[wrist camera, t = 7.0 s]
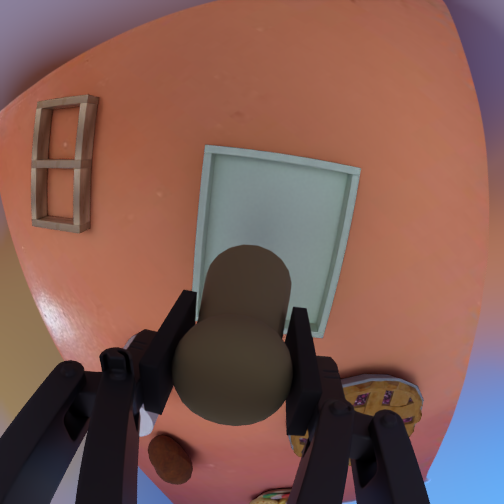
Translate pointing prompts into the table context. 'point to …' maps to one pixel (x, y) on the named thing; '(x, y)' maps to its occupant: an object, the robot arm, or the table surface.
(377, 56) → the table surface
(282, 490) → the toy food set
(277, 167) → the tray
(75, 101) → the two-slot wooden frame
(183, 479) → the potato
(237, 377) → the brown pawn
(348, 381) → the pie
